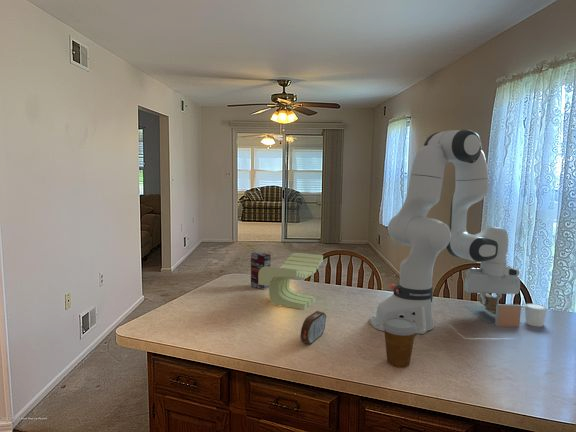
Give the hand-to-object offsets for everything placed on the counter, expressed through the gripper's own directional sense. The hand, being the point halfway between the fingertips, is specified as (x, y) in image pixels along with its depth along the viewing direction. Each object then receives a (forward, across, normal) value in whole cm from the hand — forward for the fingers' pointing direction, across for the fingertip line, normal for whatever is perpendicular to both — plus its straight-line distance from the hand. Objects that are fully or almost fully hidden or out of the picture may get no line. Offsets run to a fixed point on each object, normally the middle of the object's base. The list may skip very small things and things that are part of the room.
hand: (490, 304), depth 166 cm
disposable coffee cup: (+6, -46, -41) cm, 62 cm away
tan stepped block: (+1, 0, -2) cm, 2 cm away
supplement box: (+6, -90, +36) cm, 97 cm away
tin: (+6, -69, -25) cm, 74 cm away
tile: (0, +1, -12) cm, 12 cm away
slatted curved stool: (+6, -76, +14) cm, 77 cm away
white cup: (+4, +12, -10) cm, 16 cm away
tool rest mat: (+4, +1, 0) cm, 4 cm away
